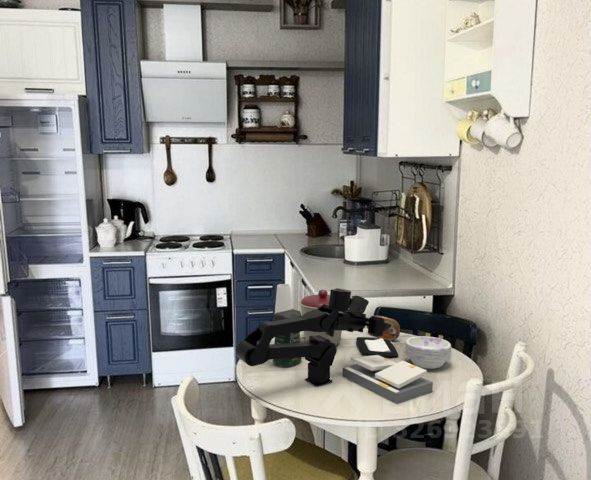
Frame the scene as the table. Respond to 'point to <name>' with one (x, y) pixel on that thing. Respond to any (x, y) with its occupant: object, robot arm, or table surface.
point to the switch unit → (386, 384)
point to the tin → (390, 329)
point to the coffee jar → (287, 337)
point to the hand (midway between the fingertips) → (381, 323)
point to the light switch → (376, 347)
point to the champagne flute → (283, 298)
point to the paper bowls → (428, 351)
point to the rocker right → (400, 374)
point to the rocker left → (373, 362)
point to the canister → (313, 304)
